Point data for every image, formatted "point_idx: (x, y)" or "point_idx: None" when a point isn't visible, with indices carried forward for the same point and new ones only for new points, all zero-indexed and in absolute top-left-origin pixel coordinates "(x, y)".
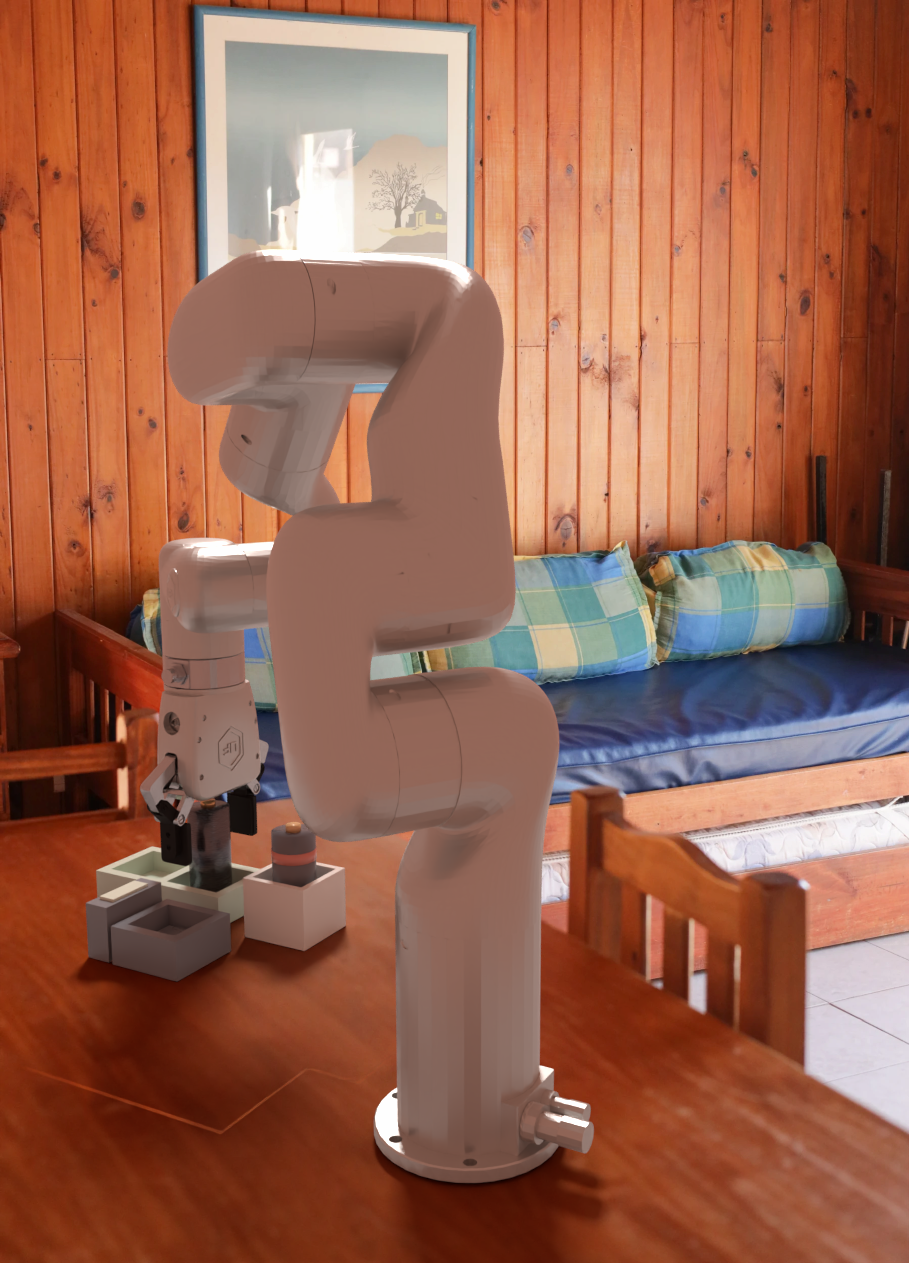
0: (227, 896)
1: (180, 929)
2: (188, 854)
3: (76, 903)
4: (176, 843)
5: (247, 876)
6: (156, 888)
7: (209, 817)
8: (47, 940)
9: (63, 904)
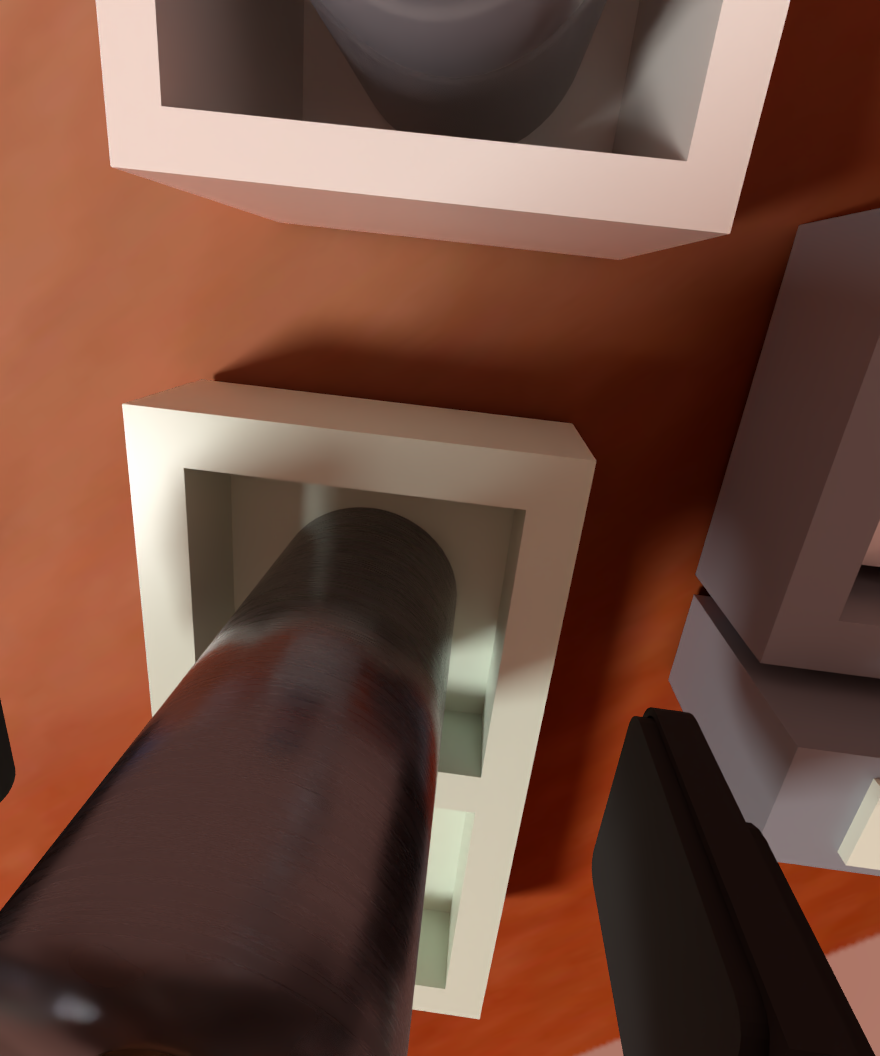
0: (511, 447)
1: None
2: (712, 764)
3: (512, 940)
4: (796, 914)
5: (681, 217)
6: (830, 736)
7: (354, 962)
8: (807, 882)
9: (533, 962)
